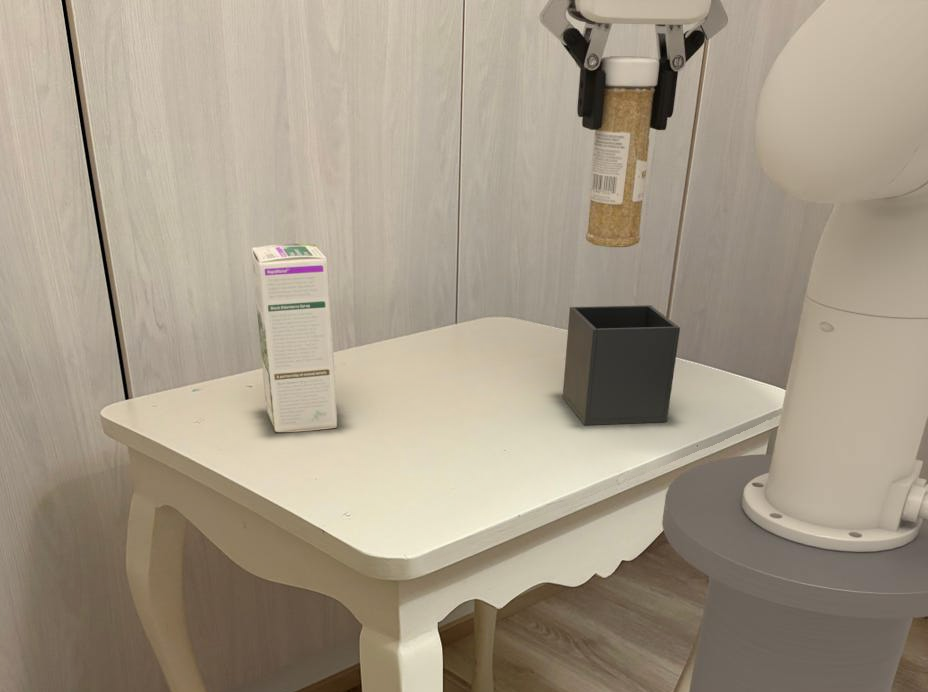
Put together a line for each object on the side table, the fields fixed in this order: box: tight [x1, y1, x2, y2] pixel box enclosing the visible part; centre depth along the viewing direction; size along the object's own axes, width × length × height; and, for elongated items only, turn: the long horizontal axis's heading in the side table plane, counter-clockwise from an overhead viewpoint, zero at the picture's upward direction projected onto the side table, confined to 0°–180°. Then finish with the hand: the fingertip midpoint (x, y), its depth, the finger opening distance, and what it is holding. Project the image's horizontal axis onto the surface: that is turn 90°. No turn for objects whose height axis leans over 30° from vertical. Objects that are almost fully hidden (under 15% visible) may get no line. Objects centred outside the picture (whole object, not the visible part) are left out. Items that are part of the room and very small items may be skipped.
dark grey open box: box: [562, 304, 681, 426], centre depth 91 cm, size 8×8×8 cm
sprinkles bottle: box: [585, 55, 659, 248], centre depth 79 cm, size 5×5×14 cm
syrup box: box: [251, 243, 338, 433], centre depth 85 cm, size 6×6×14 cm
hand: (623, 125), depth 78 cm, fingers closed on sprinkles bottle, 4 cm apart
